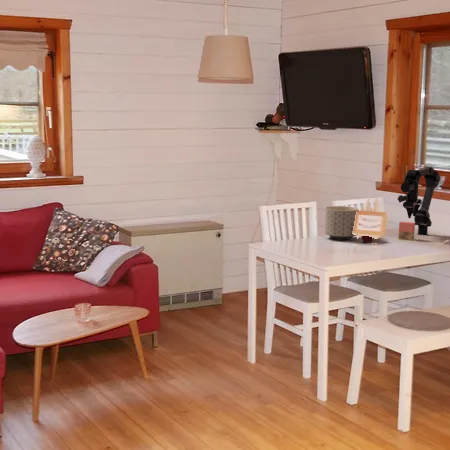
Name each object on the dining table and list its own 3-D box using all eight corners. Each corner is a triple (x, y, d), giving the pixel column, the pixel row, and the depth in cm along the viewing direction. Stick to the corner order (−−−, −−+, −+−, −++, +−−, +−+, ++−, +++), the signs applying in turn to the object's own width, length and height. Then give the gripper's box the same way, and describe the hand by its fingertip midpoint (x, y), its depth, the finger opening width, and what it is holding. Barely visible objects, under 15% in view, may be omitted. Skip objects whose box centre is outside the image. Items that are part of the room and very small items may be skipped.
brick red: (398, 230, 439) (399, 222, 438) (401, 229, 442) (401, 221, 442) (412, 232, 435) (412, 223, 434) (414, 231, 438) (415, 222, 437)
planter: (331, 242, 433) (332, 211, 430) (319, 236, 452) (320, 206, 449) (362, 241, 438) (363, 210, 435) (349, 235, 456) (350, 205, 453)
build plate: (399, 238, 448) (399, 236, 447) (419, 240, 442) (419, 238, 442) (392, 241, 437) (393, 239, 437) (413, 243, 432) (413, 241, 431)
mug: (371, 240, 440) (372, 223, 439) (380, 243, 433) (381, 225, 432) (357, 242, 435) (358, 224, 434) (366, 244, 428) (366, 227, 427)
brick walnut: (398, 239, 440) (398, 230, 439) (400, 238, 443) (400, 229, 442) (411, 240, 436) (412, 232, 435) (413, 239, 439) (414, 231, 438)
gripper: (404, 188, 454) (403, 214, 457) (394, 191, 438) (393, 218, 441) (422, 189, 449) (421, 215, 452) (413, 193, 433) (412, 219, 436)
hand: (411, 217), depth 445 cm, fingers open, 9 cm apart
